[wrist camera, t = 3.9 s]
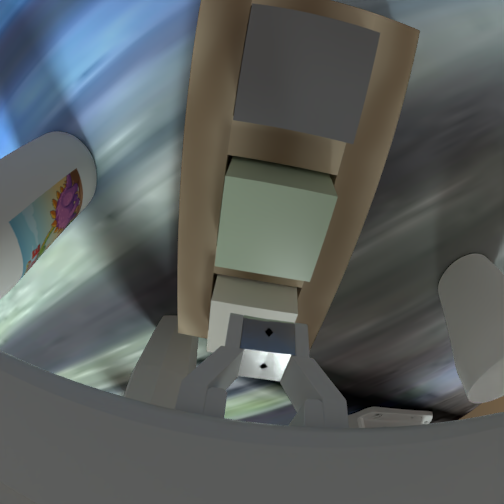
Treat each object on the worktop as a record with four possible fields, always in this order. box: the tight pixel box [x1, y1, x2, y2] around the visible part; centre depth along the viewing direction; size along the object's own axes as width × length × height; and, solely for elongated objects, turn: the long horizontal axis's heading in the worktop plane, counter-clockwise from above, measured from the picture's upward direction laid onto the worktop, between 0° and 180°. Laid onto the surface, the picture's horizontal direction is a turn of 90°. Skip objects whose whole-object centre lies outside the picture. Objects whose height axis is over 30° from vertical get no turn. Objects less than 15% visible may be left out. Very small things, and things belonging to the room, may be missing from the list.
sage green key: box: [215, 156, 338, 282], centre depth 20 cm, size 6×6×4 cm
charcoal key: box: [233, 3, 380, 144], centre depth 14 cm, size 6×6×4 cm
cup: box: [438, 253, 504, 403], centre depth 22 cm, size 9×9×12 cm
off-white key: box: [207, 274, 298, 353], centre depth 25 cm, size 6×6×4 cm
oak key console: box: [177, 0, 420, 351], centre depth 22 cm, size 12×27×4 cm, turn 171°
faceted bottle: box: [123, 315, 198, 409], centre depth 25 cm, size 6×6×22 cm
